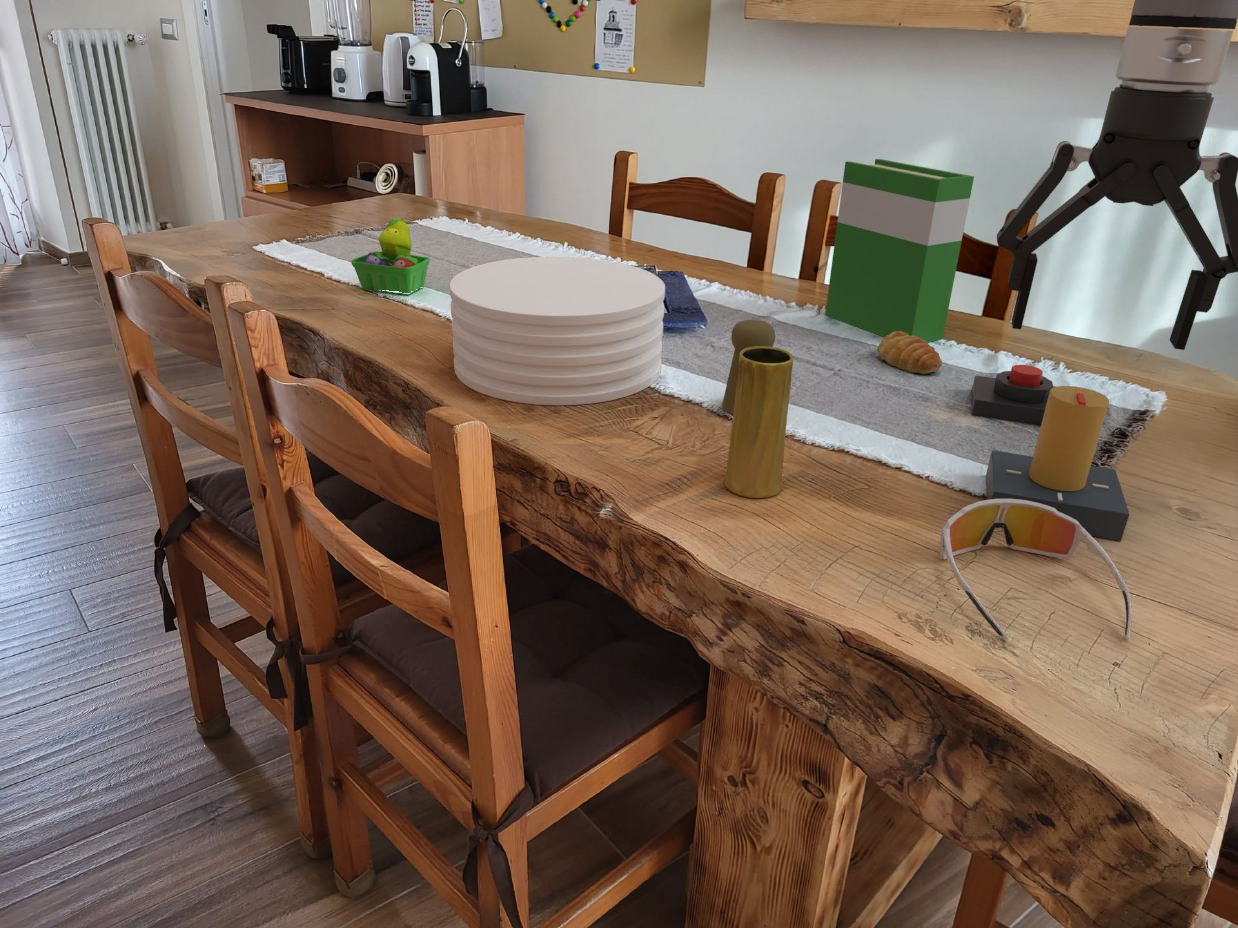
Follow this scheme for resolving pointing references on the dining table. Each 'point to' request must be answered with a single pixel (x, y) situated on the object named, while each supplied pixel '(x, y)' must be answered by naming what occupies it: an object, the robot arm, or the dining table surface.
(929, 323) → the green cereal box
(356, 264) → the fruit basket
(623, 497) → the dining table surface
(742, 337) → the pepper mill
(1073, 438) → the yellow round cylinder
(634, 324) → the plate stack
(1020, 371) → the button
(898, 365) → the pastry
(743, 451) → the vase
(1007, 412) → the button box
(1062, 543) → the sunglasses
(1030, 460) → the knob panel
